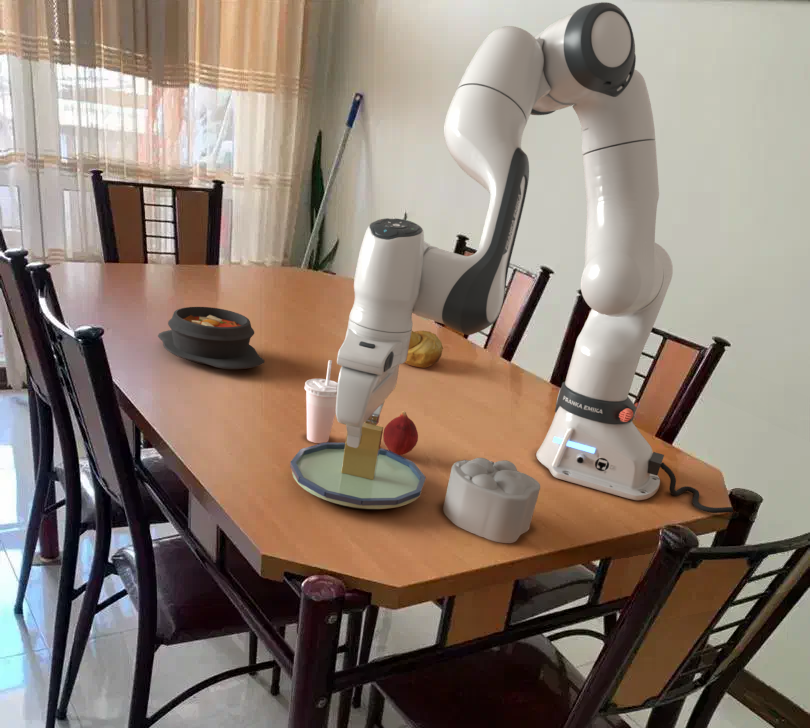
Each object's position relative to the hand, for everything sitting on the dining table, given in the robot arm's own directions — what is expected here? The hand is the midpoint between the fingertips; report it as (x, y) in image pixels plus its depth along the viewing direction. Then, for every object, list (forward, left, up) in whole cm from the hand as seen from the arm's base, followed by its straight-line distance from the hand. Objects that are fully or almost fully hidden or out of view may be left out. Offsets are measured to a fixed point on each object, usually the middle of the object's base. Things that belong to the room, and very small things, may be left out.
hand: (362, 434), depth 119 cm
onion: (+2, -16, -9) cm, 18 cm away
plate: (0, 0, -7) cm, 7 cm away
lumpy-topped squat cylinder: (-19, -6, -9) cm, 22 cm away
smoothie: (+15, -11, -9) cm, 20 cm away
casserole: (+54, -28, -9) cm, 61 cm away
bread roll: (+26, -68, -9) cm, 73 cm away
